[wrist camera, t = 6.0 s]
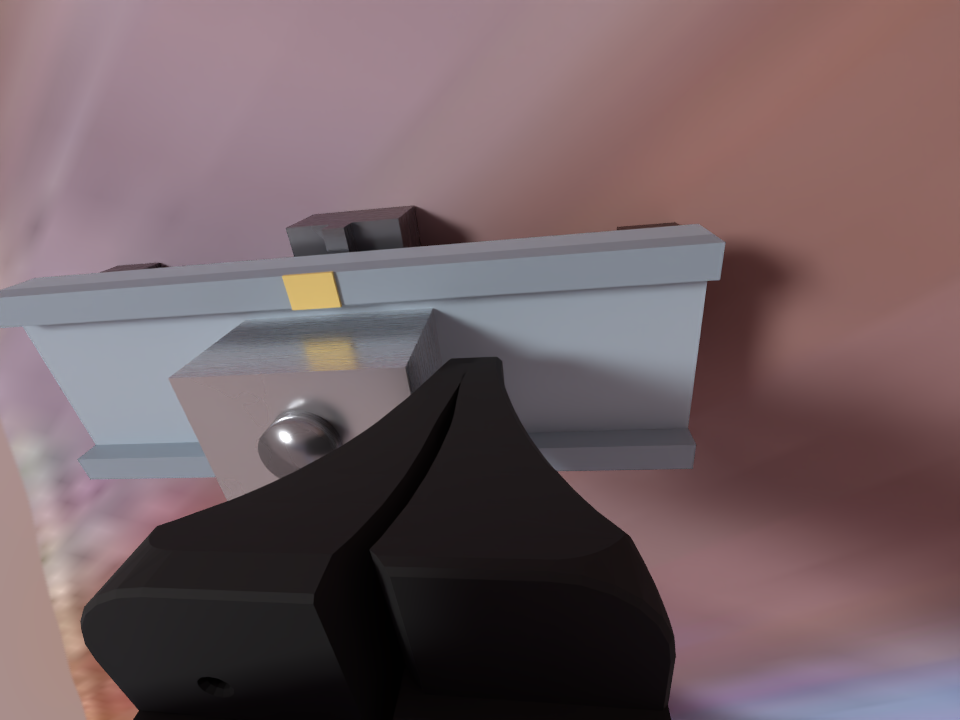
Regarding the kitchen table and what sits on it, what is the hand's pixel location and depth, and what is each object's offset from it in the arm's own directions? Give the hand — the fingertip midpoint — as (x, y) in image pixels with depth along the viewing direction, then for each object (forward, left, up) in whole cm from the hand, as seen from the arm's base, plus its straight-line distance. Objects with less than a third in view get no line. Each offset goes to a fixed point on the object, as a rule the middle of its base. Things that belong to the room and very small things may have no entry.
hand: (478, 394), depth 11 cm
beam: (0, +4, -2) cm, 4 cm away
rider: (0, +4, -1) cm, 4 cm away
